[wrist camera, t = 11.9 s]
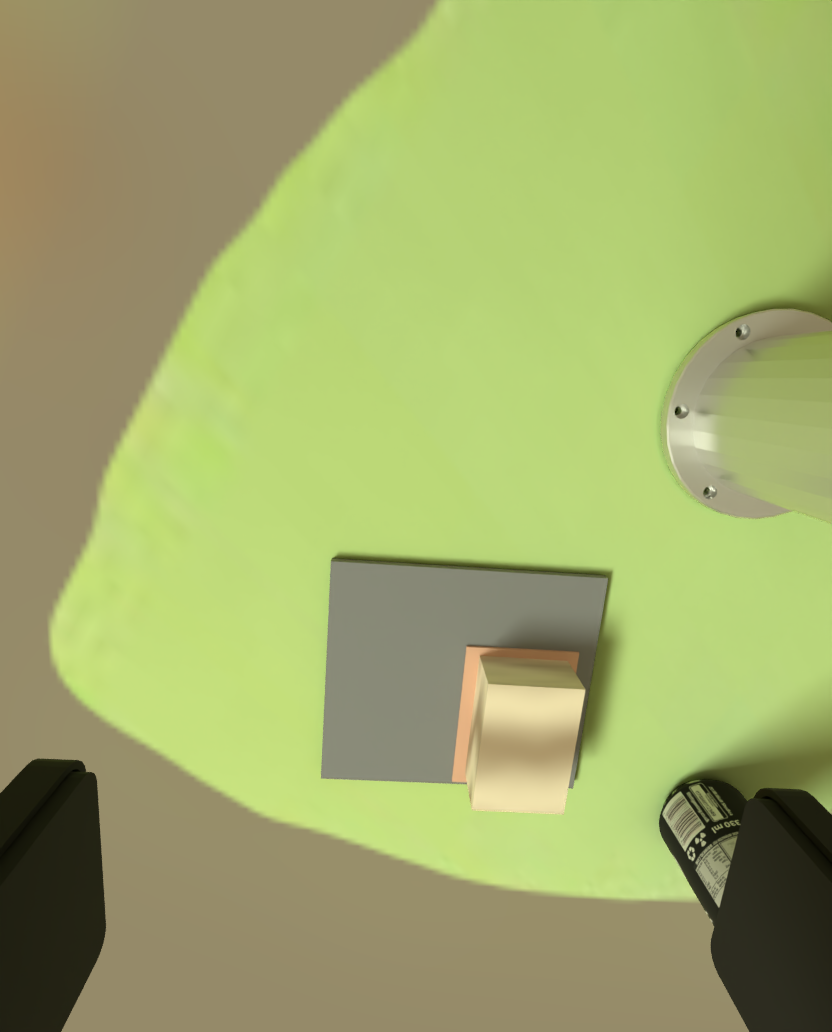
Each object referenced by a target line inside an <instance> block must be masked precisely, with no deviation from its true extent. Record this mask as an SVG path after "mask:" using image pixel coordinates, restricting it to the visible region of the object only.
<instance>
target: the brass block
mask: <svg viewBox="0 0 832 1032" xmlns="http://www.w3.org/2000/svg"><path fill="white" fill-rule="evenodd" d="M584 696H585V688H584V686H583V685H582V683H581V682H580V680H579V678H578V677H577V675H576V673H575V672H574V670H573V669H572V667H571V665H570V664H569V662H568V661H560V660H544V659H527V658H511V657H495V656H479V664H478V672H477V680H476V688H475V696H474V704H473V712H472V720H471V728H470V736H469V744H468V752H467V760H466V768H465V775H466V781H467V786H468V792H469V797H470V802H471V808H472V810H477V811H500V812H522V813H545V814H564V810H565V804H566V798H567V792H568V787H569V781H570V775H571V770H572V764H573V758H574V753H575V747H576V741H577V736H578V730H579V724H580V718H581V713H582V707H583V701H584Z"/></svg>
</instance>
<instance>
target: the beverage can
mask: <svg viewBox="0 0 832 1032" xmlns="http://www.w3.org/2000/svg"><path fill="white" fill-rule="evenodd" d="M746 803H747V800H746V799H745V798H744V797H743V795H742V794H741V793H740V792H739V791H738V790H737V789H736V788H734V787H733V786H731V785H729V784H727V783H724V782H721V781H715V780H695V781H691V782H688V783H685V784H683V785H682V786H680V787H678V788H677V789H676V790H674V791H673V792H672V793H671V794H670V795H669V797H668V798H667V800H666V801H665V803H664V806H663V809H662V811H661V814H660V819H659V827H660V832H661V836H662V838H663V840H664V841H665V843H666V845H667V847H668V848H669V850H670V852H671V853H672V855H673V857H674V858H675V860H676V862H677V864H678V865H679V867H680V869H681V870H682V872H683V874H684V876H685V877H686V879H687V881H688V882H689V884H690V886H691V888H692V889H693V891H694V893H695V894H696V896H697V898H698V899H699V901H700V903H701V905H702V906H703V908H704V910H705V911H706V913H707V915H708V916H709V918H710V920H711V922H712V923H713V925H714V927H715V923H716V919H717V915H718V911H719V907H720V903H721V899H722V895H723V891H724V887H725V883H726V879H727V875H728V871H729V867H730V863H731V860H732V856H733V852H734V848H735V844H736V840H737V836H738V832H739V828H740V824H741V820H742V816H743V812H744V808H745V805H746Z"/></svg>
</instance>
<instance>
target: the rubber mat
mask: <svg viewBox="0 0 832 1032" xmlns="http://www.w3.org/2000/svg"><path fill="white" fill-rule="evenodd" d="M607 583H608V578H607V577H606V576H605V575H591V574H575V573H559V572H543V571H526V570H510V569H494V568H478V567H462V566H446V565H430V564H414V563H398V562H382V561H366V560H350V559H334V558H332V560H331V573H330V594H329V616H328V638H327V660H326V682H325V704H324V725H323V747H322V769H321V778H324V779H349V780H374V781H399V782H425V783H450V784H467V781H466V775H465V768H466V760H467V752H468V744H469V736H470V728H471V720H472V712H473V704H474V696H475V688H476V680H477V672H478V664H479V656H495V657H511V658H527V659H544V660H560V661H568V662H569V664H570V665H571V667H572V669H573V670H574V672H575V673H576V675H577V677H578V678H579V680H580V682H581V683H582V685H583V686H584V688H585V696H584V701H583V707H582V713H581V718H580V724H579V730H578V736H577V741H576V747H575V753H574V758H573V764H572V770H571V775H570V781H569V787H568V788H573V785H574V779H575V773H576V767H577V761H578V756H579V750H580V744H581V738H582V732H583V726H584V720H585V714H586V708H587V702H588V696H589V690H590V684H591V678H592V672H593V666H594V660H595V654H596V648H597V643H598V637H599V631H600V625H601V619H602V613H603V607H604V601H605V595H606V589H607Z"/></svg>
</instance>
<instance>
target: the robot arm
mask: <svg viewBox="0 0 832 1032" xmlns="http://www.w3.org/2000/svg"><path fill="white" fill-rule="evenodd" d="M736 330H737V336H736ZM676 407H677V408H678V412H677V413H676V414H675V409H676ZM660 435H661V441H662V448H663V453H664V456H665V459H666V462H667V464H668V467H669V470H670V471H671V473H672V475H673V476H674V478H675V479H676V481H677V483H678V484H679V485H680V486H681V487H682V488H683V489H684V490H685V492H686V493H687V494H688V495H689V496H690V497H692V498H693V499H695V500H696V501H698V502H699V503H701V504H702V505H704V506H705V507H708V508H710V509H712V510H715V511H717V512H719V513H722V514H726V515H729V516H733V517H736V518H748V519H760V518H768V517H775V516H779V515H782V514H785V513H788V512H792V511H794V512H797V513H800V514H803V515H806V516H809V517H812V518H815V519H818V520H821V521H824V522H827V523H830V524H832V322H831V321H830V320H828V319H826V318H823V317H821V316H819V315H817V314H815V313H812V312H807V311H802V310H797V309H770V310H764V311H758V312H753V313H750V314H747V315H744V316H741V317H738V318H735V319H733V320H731V321H729V322H727V323H725V324H723V325H722V326H720V327H718V328H716V329H715V330H714V331H712V332H711V333H710V334H708V335H707V336H706V337H705V338H703V339H702V340H701V341H700V342H699V343H698V344H697V345H696V346H695V347H694V348H693V349H692V350H691V351H690V353H689V354H688V355H687V356H686V357H685V358H684V360H683V362H682V363H681V365H680V366H679V368H678V369H677V371H676V373H675V374H674V376H673V378H672V381H671V383H670V385H669V388H668V390H667V393H666V395H665V400H664V404H663V409H662V413H661V431H660ZM705 488H706V490H705V492H704V493H703V491H704V489H705ZM105 931H106V920H105V903H104V888H103V871H102V855H101V839H100V823H99V807H98V791H97V780H96V776H95V774H94V773H92V772H86V769H85V765H84V764H83V762H82V761H79V760H58V759H36V760H33V761H31V762H30V763H29V764H28V765H27V766H26V767H25V768H24V769H23V770H22V771H21V772H20V773H19V774H18V775H17V776H16V777H15V778H14V779H13V780H12V782H11V783H10V784H9V785H8V786H7V787H6V788H5V789H4V790H3V791H2V792H1V793H0V1032H61V1031H62V1029H63V1027H64V1024H65V1023H66V1021H67V1019H68V1017H69V1015H70V1013H71V1011H72V1009H73V1007H74V1005H75V1003H76V1001H77V999H78V997H79V995H80V993H81V991H82V989H83V987H84V985H85V983H86V981H87V979H88V977H89V975H90V973H91V971H92V969H93V967H94V965H95V963H96V961H97V958H98V957H99V954H100V952H101V949H102V946H103V942H104V937H105ZM711 954H712V959H713V962H714V965H715V968H716V970H717V973H718V975H719V977H720V978H721V980H722V982H723V984H724V986H725V987H726V989H727V991H728V993H729V995H730V997H731V999H732V1000H733V1002H734V1004H735V1006H736V1007H737V1010H738V1011H739V1013H740V1015H741V1017H742V1019H743V1020H744V1022H745V1024H746V1026H747V1028H748V1030H749V1032H832V815H831V814H830V813H829V812H828V811H827V810H826V809H825V808H824V807H823V806H822V805H821V804H820V803H819V802H818V801H817V800H816V799H815V798H814V797H813V796H812V795H810V794H809V793H808V792H806V791H803V790H799V789H774V788H764V789H760V790H759V791H758V792H757V793H756V795H755V797H754V799H750V800H749V801H747V803H746V805H745V808H744V812H743V816H742V820H741V824H740V828H739V832H738V836H737V840H736V844H735V848H734V852H733V856H732V860H731V863H730V867H729V871H728V875H727V879H726V883H725V887H724V891H723V895H722V899H721V903H720V907H719V911H718V915H717V919H716V923H715V927H714V931H713V934H712V938H711Z"/></svg>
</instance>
